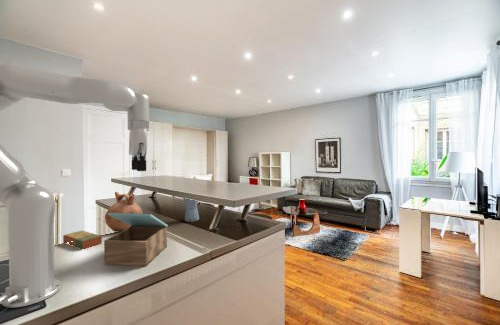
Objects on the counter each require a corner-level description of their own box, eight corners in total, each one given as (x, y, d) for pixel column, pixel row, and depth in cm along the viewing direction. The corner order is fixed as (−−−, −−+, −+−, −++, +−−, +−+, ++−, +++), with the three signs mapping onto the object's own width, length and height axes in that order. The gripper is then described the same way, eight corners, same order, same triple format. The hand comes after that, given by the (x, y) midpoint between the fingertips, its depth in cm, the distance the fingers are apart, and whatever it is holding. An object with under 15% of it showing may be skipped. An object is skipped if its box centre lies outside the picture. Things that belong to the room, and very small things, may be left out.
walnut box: (146, 266, 85) (146, 242, 85) (104, 264, 86) (104, 240, 86) (166, 246, 103) (166, 226, 103) (132, 245, 104) (131, 225, 104)
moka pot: (177, 221, 142) (177, 189, 142) (196, 216, 155) (196, 186, 155) (187, 224, 137) (187, 190, 136) (206, 218, 150) (206, 187, 149)
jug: (97, 230, 124) (96, 193, 124) (128, 222, 140) (128, 189, 140) (118, 236, 116) (118, 196, 115) (149, 226, 132) (149, 191, 131)
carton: (82, 238, 114) (82, 229, 114) (102, 244, 107) (102, 235, 106) (62, 244, 106) (62, 234, 106) (82, 250, 99) (82, 240, 99)
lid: (150, 215, 87) (151, 211, 88) (107, 214, 88) (109, 210, 89) (167, 226, 103) (168, 222, 104) (131, 225, 104) (132, 221, 105)
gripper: (123, 127, 94) (124, 169, 95) (132, 122, 81) (132, 172, 81) (143, 128, 99) (143, 168, 99) (154, 124, 85) (154, 171, 86)
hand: (138, 170), depth 90 cm, fingers open, 9 cm apart
